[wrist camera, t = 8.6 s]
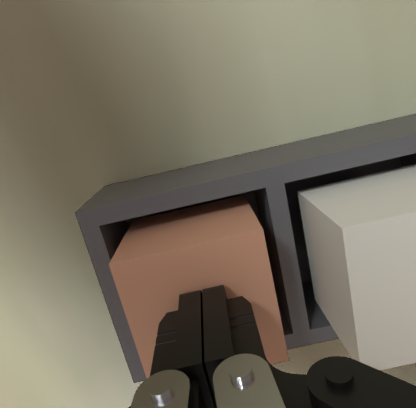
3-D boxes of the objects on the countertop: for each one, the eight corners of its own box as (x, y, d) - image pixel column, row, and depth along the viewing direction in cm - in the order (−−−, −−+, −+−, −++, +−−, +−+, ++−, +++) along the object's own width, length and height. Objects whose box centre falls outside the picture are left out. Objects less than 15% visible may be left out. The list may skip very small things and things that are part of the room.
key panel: (147, 321, 19) (133, 382, 15) (104, 186, 17) (74, 212, 13) (544, 233, 19) (648, 271, 15) (549, 82, 17) (672, 74, 12)
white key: (314, 299, 16) (361, 374, 11) (297, 191, 14) (342, 228, 10) (428, 274, 15) (519, 340, 11) (421, 162, 14) (522, 187, 10)
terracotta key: (162, 317, 17) (150, 390, 13) (132, 220, 16) (108, 264, 11) (264, 295, 17) (289, 360, 12) (244, 194, 15) (262, 229, 11)
